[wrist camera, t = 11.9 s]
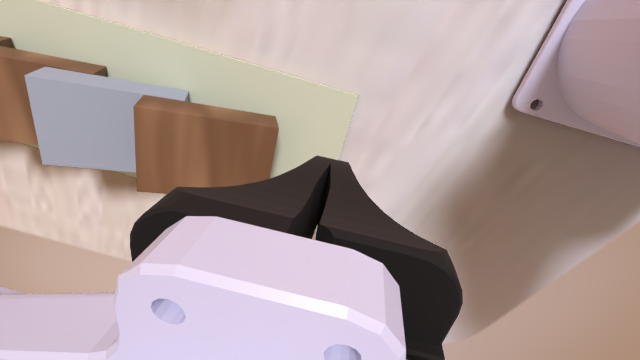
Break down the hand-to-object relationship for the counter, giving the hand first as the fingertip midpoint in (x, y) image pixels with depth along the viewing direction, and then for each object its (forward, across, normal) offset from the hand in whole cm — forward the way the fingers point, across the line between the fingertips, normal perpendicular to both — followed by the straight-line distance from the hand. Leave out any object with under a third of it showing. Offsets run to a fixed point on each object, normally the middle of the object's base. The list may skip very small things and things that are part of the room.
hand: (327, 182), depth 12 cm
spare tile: (+5, +8, +2) cm, 10 cm away
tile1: (+5, +4, +2) cm, 6 cm away
